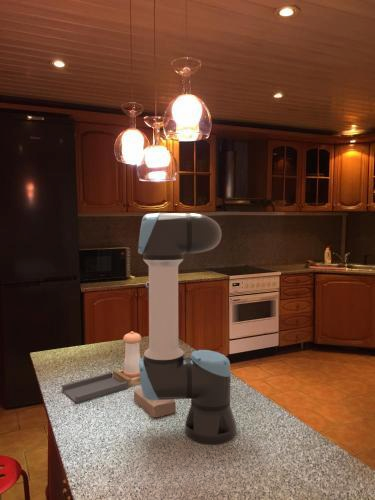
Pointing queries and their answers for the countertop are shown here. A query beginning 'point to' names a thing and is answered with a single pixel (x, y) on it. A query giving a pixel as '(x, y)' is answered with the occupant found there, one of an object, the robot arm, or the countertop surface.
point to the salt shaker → (132, 355)
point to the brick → (154, 404)
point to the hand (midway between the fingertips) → (157, 324)
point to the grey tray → (93, 388)
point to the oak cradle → (126, 378)
